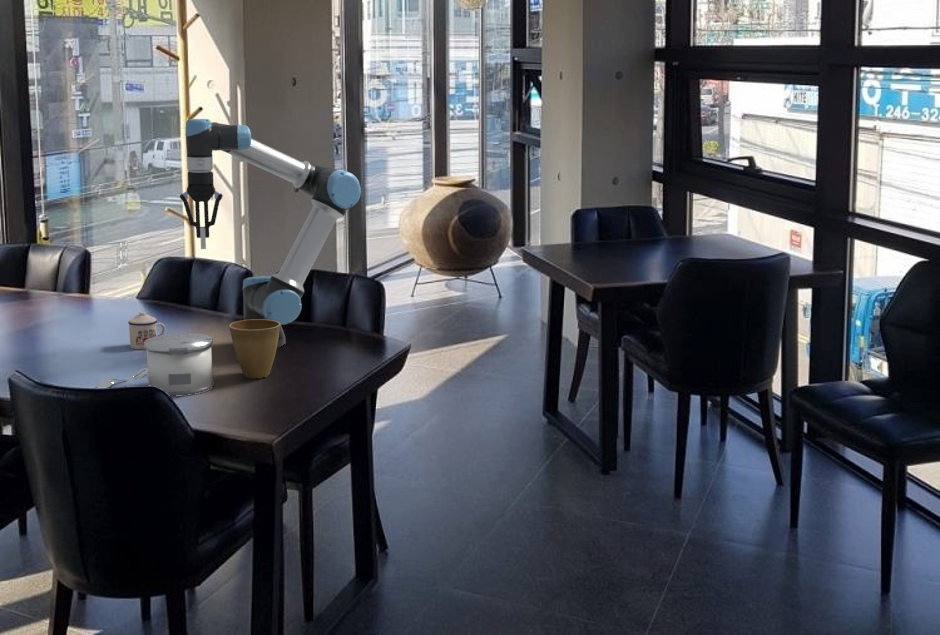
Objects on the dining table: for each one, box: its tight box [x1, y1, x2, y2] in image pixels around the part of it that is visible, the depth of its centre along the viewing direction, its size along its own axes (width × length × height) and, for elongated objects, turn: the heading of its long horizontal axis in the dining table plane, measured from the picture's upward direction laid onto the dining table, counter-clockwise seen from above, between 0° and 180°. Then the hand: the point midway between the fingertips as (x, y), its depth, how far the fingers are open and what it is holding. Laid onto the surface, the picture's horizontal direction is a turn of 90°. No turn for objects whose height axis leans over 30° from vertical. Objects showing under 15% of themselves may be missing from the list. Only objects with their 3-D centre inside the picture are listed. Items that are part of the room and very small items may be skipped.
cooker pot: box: [146, 346, 215, 397], centre depth 318 cm, size 19×19×12 cm
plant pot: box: [229, 319, 280, 379], centre depth 330 cm, size 15×15×16 cm
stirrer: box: [97, 367, 148, 388], centre depth 323 cm, size 20×4×5 cm
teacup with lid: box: [128, 311, 166, 351], centre depth 362 cm, size 12×9×12 cm
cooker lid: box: [144, 332, 214, 355], centre depth 315 cm, size 19×21×2 cm
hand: (203, 248), depth 336 cm, fingers closed
